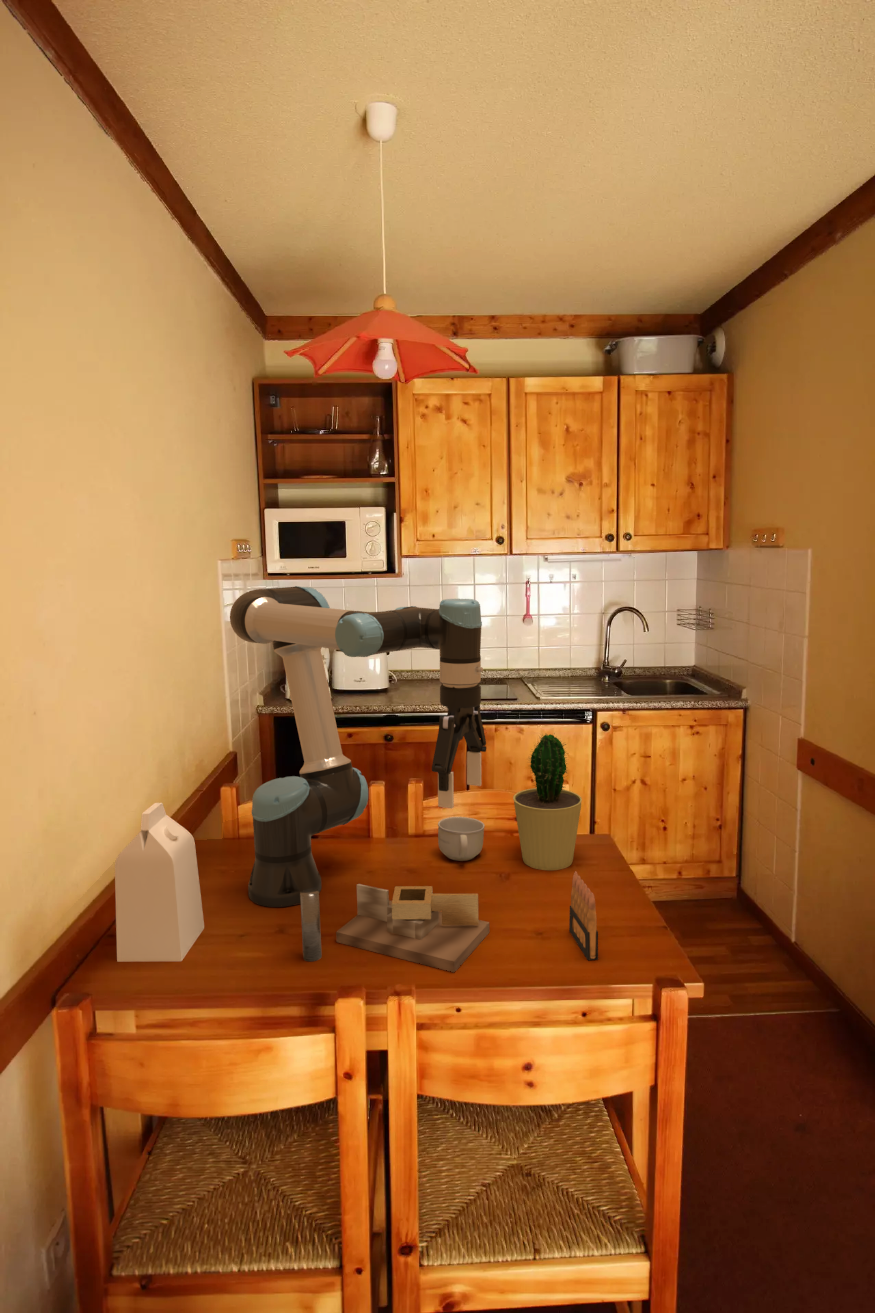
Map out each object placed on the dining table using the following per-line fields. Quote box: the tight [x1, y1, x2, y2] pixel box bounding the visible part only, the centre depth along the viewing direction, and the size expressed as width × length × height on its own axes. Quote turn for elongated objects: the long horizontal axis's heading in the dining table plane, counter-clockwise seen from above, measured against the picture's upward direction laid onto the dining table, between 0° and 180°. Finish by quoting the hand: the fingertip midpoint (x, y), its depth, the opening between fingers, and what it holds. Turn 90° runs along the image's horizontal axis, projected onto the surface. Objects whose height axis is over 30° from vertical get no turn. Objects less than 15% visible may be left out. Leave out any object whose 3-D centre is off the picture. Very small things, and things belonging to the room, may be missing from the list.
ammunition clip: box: [568, 870, 599, 961], centre depth 135 cm, size 11×2×12 cm, turn 8°
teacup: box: [437, 816, 485, 862], centre depth 174 cm, size 14×11×8 cm
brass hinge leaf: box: [391, 885, 479, 925], centre depth 139 cm, size 16×7×6 cm, turn 88°
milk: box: [114, 802, 205, 963], centre depth 137 cm, size 12×12×26 cm
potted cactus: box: [512, 732, 583, 871], centre depth 171 cm, size 15×15×30 cm
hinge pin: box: [300, 888, 323, 963], centre depth 133 cm, size 3×3×12 cm
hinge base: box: [335, 883, 490, 973], centre depth 139 cm, size 24×15×8 cm, turn 63°
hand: (460, 795), depth 141 cm, fingers open, 13 cm apart
